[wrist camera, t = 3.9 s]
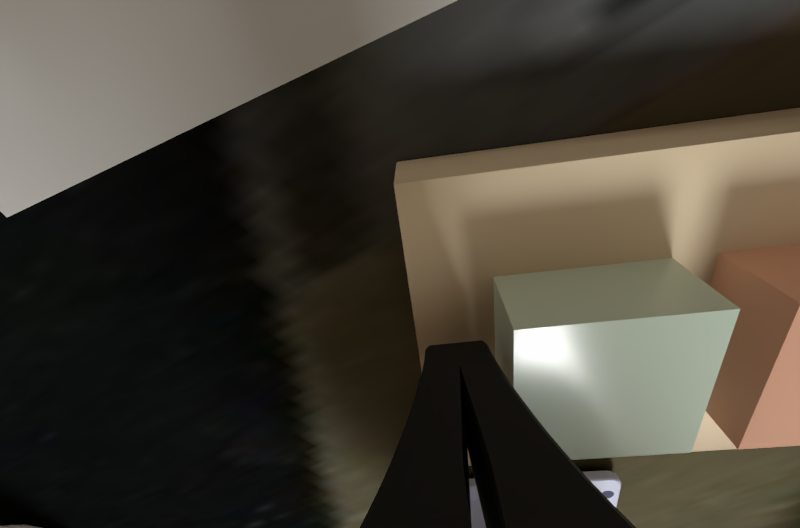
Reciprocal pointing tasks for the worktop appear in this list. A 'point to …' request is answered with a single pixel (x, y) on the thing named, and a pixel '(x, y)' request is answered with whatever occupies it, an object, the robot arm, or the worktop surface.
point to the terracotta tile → (760, 348)
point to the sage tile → (613, 353)
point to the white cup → (18, 526)
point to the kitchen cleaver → (152, 73)
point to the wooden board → (592, 213)
